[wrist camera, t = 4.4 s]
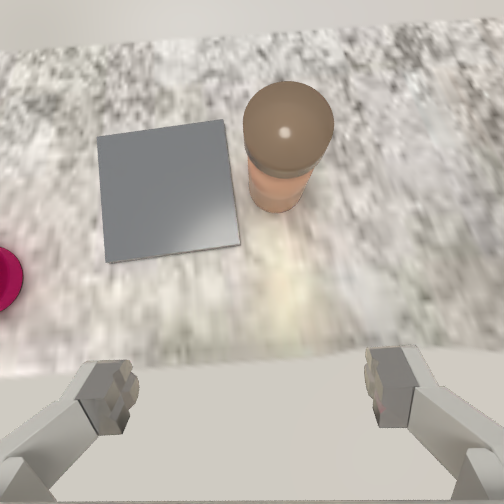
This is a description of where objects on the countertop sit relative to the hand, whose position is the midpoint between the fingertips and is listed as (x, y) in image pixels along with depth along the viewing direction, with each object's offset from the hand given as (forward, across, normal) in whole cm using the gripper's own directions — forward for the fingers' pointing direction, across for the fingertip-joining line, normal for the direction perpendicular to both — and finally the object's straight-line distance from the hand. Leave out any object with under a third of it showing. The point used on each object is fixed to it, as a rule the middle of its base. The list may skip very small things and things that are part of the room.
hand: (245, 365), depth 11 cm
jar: (+21, -1, 0) cm, 21 cm away
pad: (+21, +9, 0) cm, 23 cm away
